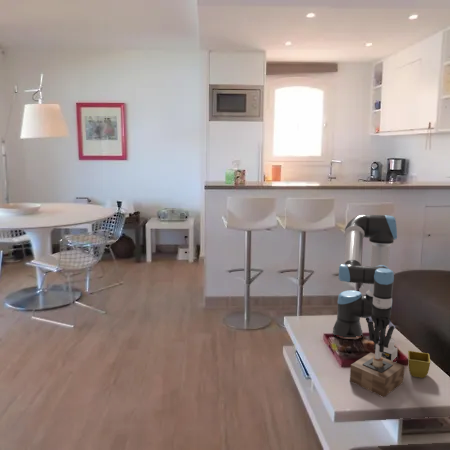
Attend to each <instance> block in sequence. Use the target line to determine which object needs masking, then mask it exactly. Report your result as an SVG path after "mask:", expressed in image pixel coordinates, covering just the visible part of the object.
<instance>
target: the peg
mask: <svg viewBox="0 0 450 450" xmlns="http://www.w3.org/2000/svg"><path fill="white" fill-rule="evenodd" d="M373 366H375V367H377V368H379V369H380V368H382V366H383V358H382V357H381V358H380V359H376V358H375V356H374V357H373Z"/></svg>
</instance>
